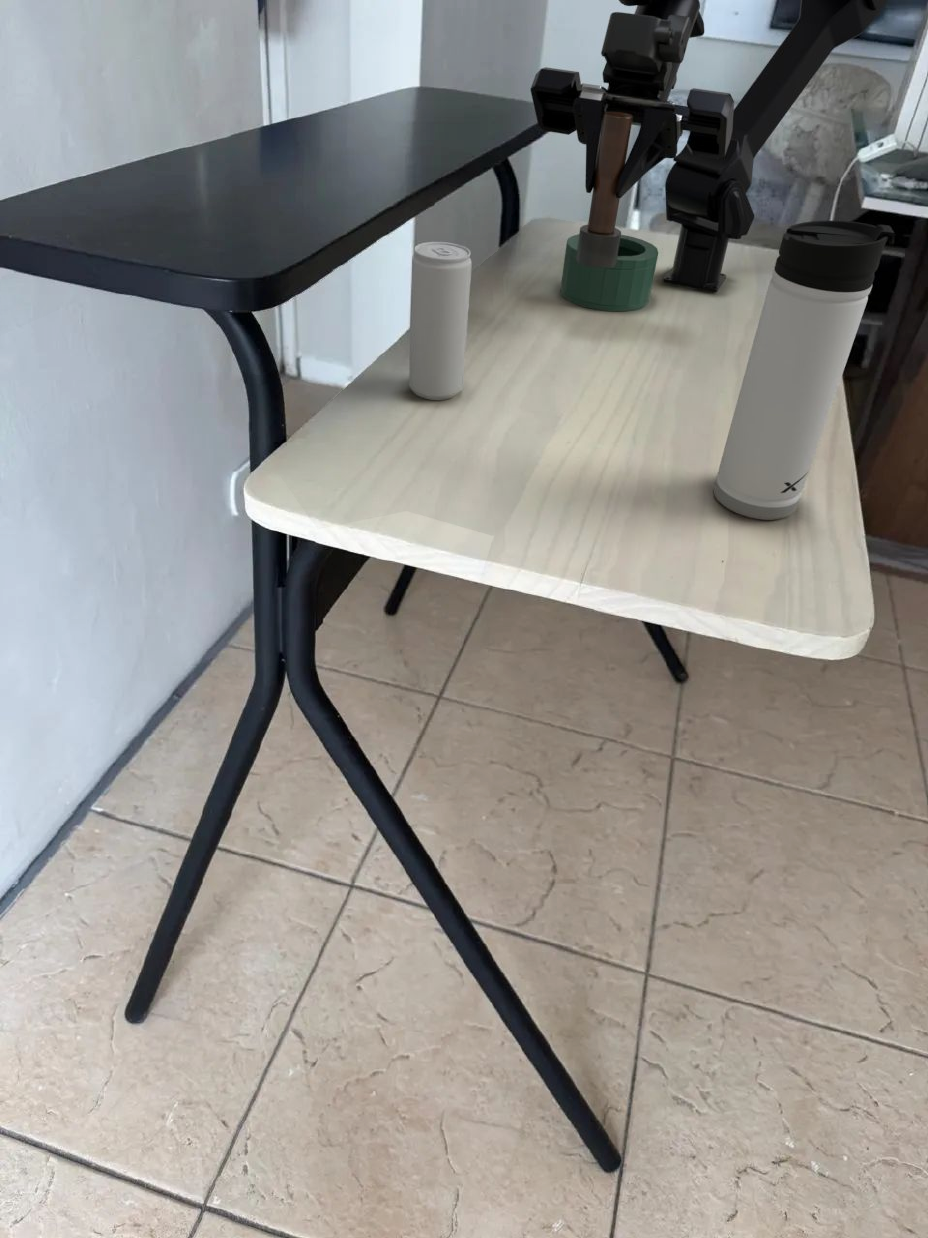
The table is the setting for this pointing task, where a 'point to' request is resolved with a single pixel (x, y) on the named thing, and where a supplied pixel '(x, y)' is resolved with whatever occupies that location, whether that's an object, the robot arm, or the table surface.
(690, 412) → the table surface
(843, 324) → the travel mug
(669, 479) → the table surface
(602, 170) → the brush
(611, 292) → the jar
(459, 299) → the beverage can
